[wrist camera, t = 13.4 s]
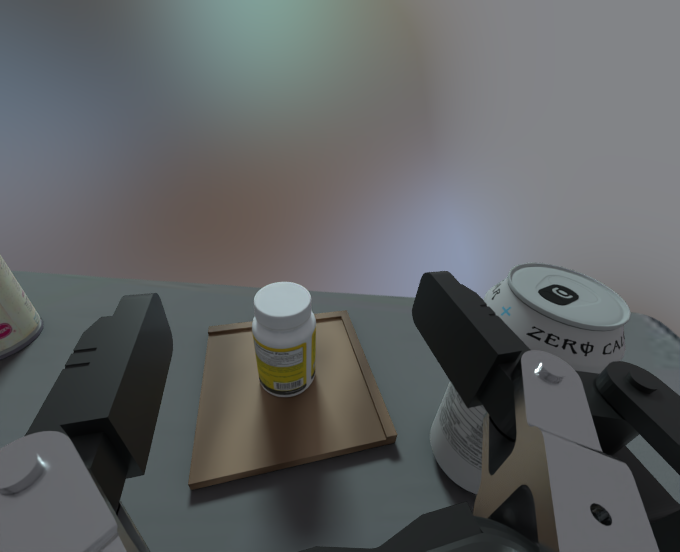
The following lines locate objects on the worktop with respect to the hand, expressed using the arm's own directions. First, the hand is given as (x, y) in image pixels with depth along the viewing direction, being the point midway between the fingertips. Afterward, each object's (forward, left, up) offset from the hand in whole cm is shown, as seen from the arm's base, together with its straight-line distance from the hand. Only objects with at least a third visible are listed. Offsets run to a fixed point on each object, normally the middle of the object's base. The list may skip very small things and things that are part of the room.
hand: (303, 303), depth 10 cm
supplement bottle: (0, +10, -16) cm, 19 cm away
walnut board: (0, +10, -17) cm, 19 cm away
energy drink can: (+12, +1, -17) cm, 21 cm away
